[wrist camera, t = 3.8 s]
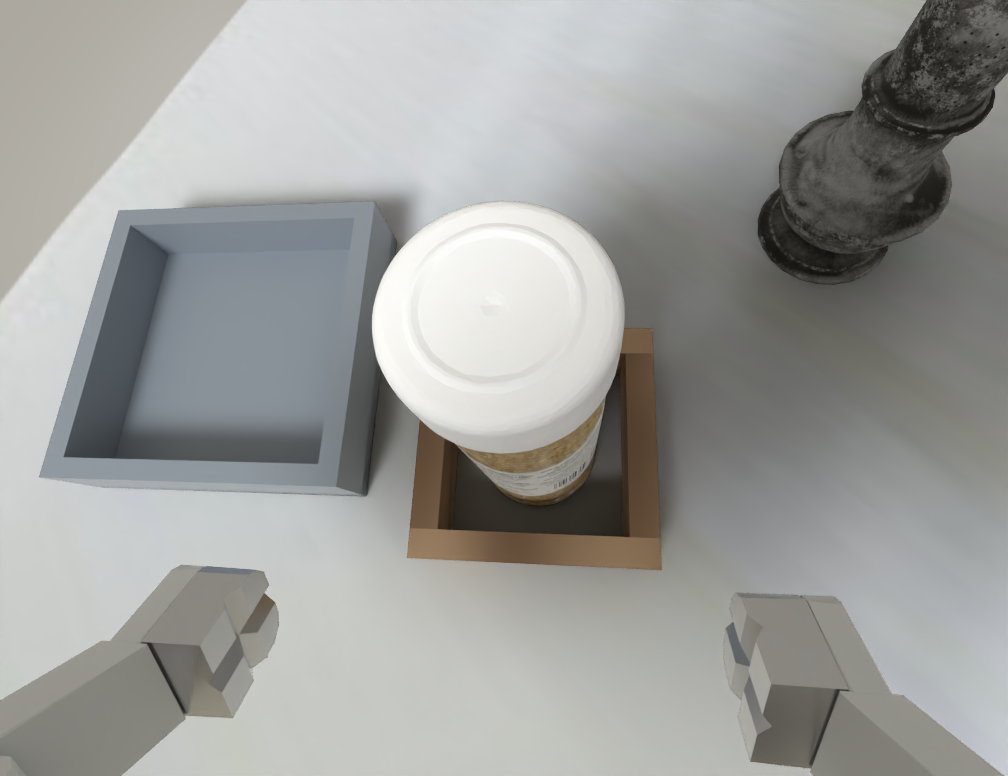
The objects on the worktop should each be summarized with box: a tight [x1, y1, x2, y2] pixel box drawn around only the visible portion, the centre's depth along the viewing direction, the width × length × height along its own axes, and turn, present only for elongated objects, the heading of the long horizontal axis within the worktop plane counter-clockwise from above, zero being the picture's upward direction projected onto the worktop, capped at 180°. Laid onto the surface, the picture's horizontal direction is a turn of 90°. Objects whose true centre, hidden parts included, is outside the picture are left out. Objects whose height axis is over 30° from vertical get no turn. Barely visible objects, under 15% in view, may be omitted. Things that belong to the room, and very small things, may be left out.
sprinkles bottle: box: [372, 201, 625, 506], centre depth 16 cm, size 5×5×13 cm
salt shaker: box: [758, 0, 1008, 284], centre depth 18 cm, size 6×6×12 cm
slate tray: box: [39, 201, 396, 496], centre depth 23 cm, size 12×12×3 cm
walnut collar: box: [407, 328, 662, 570], centre depth 21 cm, size 9×9×2 cm
